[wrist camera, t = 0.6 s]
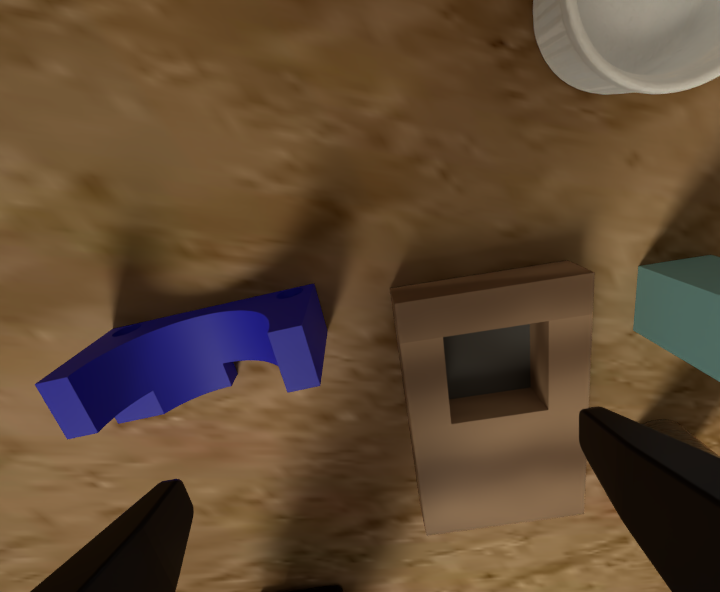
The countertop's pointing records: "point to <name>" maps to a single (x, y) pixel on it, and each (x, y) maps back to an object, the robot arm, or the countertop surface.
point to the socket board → (497, 393)
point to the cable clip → (186, 359)
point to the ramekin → (630, 43)
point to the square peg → (682, 309)
